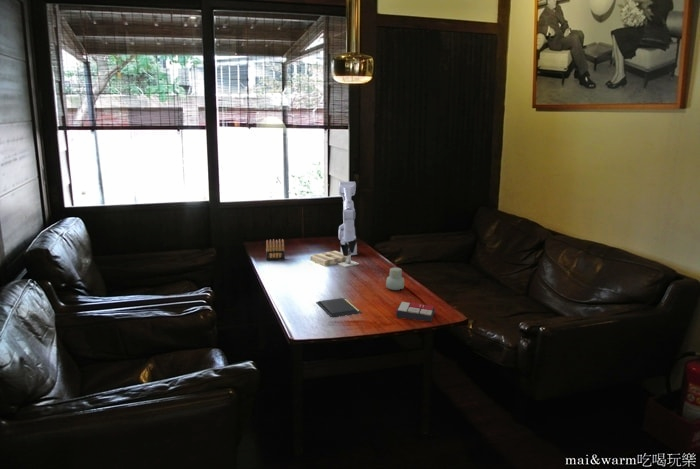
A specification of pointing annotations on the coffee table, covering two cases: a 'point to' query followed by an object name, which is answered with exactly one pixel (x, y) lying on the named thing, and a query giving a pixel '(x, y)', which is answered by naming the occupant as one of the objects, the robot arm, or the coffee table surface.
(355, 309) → the dark grey flat slab
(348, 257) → the metal cylinder
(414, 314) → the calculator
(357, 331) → the coffee table surface
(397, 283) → the air freshener
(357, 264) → the mat
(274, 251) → the ammunition clip
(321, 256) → the socket block
